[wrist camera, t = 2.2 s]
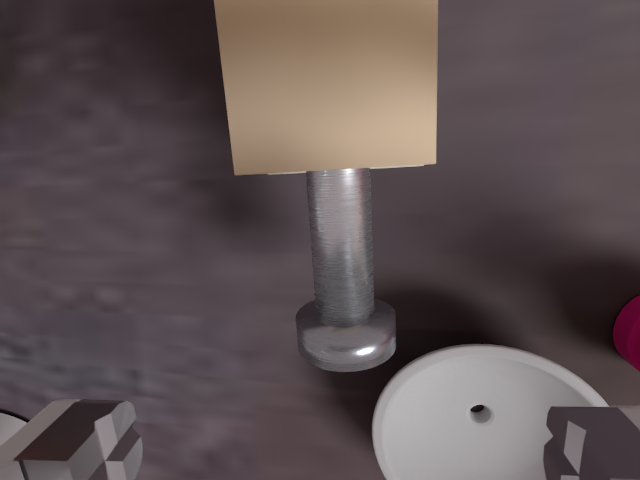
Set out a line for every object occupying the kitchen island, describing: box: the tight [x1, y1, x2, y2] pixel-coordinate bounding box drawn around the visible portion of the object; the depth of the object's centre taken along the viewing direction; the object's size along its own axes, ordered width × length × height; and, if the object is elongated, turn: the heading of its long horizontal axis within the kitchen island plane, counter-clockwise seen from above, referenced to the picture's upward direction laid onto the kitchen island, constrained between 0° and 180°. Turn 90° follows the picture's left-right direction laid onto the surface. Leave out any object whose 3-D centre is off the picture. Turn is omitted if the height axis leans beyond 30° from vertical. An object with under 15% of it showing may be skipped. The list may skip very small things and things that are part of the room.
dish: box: [372, 344, 609, 480], centre depth 27 cm, size 18×14×5 cm
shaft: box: [296, 168, 396, 372], centre depth 16 cm, size 25×5×5 cm, turn 4°
